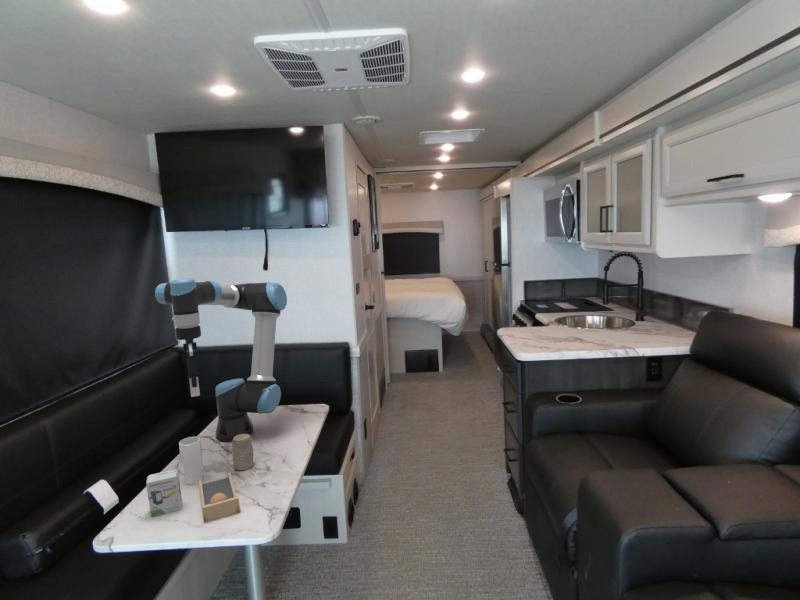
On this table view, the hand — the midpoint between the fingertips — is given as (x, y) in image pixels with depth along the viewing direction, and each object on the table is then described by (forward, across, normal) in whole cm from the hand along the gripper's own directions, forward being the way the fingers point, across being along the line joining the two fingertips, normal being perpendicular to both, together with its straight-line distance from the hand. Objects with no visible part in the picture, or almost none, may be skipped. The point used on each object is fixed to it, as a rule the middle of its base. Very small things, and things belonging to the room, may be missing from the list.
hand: (195, 395), depth 156 cm
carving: (+31, -2, +13) cm, 33 cm away
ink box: (+31, +14, -12) cm, 36 cm away
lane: (+30, +15, +3) cm, 34 cm away
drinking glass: (+31, -1, -3) cm, 31 cm away
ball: (+29, +24, +3) cm, 38 cm away
